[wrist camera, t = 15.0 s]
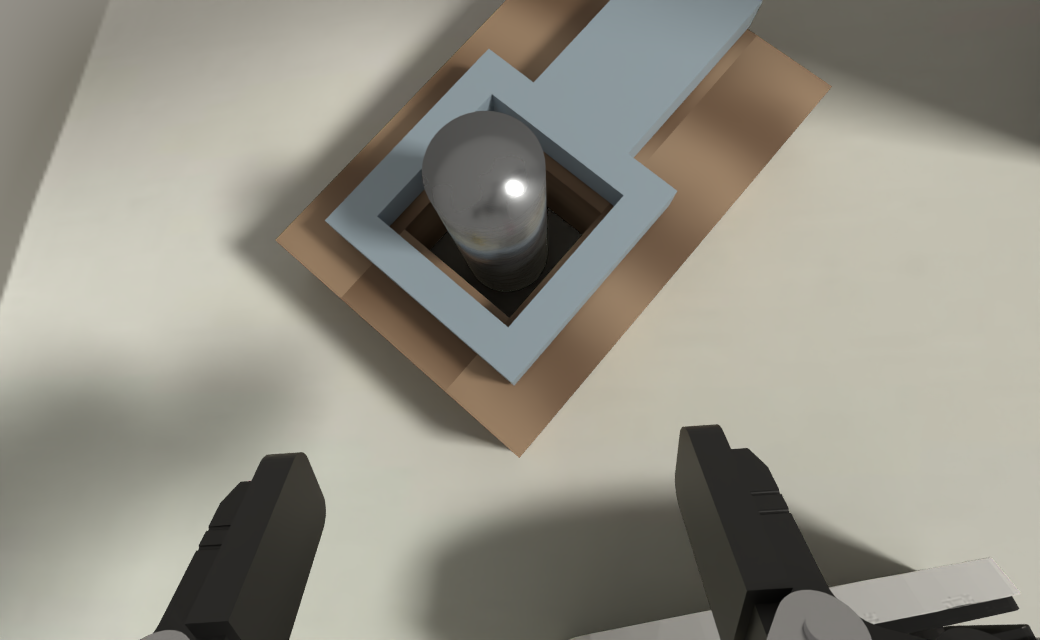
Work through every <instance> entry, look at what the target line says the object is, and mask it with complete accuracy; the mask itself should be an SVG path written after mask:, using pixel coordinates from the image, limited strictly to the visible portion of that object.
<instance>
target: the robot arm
mask: <svg viewBox="0 0 1040 640" xmlns="http://www.w3.org/2000/svg"><path fill="white" fill-rule="evenodd" d="M675 487H676V495H677V500H678V504H679V507H680V510H681V514H682V517H683V520H684V523H685V527H686V530H687V533H688V536H689V540H690V543H691V546H692V549H693V552H694V556H695V559H696V562H697V565H698V569H699V572H700V575H701V578H702V582H703V585H704V588H705V591H706V595H707V598H708V601H709V604H710V607H711V611H712V614H713V617H714V620H715V624H716V627H717V630H718V633H719V637H720V640H930V639H926V638H922V637H918V636H914V635H910V634H906V633H902V632H898V631H894V630H890V629H886V628H883V627H880V626H877V625H874V624H872V623H870V622H867V621H866V620H864V619H862V618H860V617H859V616H858V615H857V614H856V613H855V612H854V611H853V610H852V609H851V608H850V607H849V606H848V605H846V604H845V603H843V602H842V601H841V600H839V599H837V598H836V597H835V596H834V594H833V593H832V592H831V590H830V589H829V587H828V586H827V584H826V582H825V580H824V578H823V576H822V574H821V572H820V570H819V568H818V566H817V564H816V562H815V560H814V558H813V556H812V554H811V552H810V550H809V548H808V546H807V544H806V542H805V540H804V538H803V536H802V534H801V532H800V530H799V528H798V526H797V524H796V522H795V520H794V518H793V516H792V514H791V513H789V511H788V506H787V504H786V502H785V500H784V498H783V496H782V494H780V493H779V488H778V486H777V484H776V482H775V480H774V478H773V476H772V474H771V472H770V470H769V468H768V467H767V466H766V465H765V464H764V463H763V462H762V461H761V460H760V459H759V458H758V457H757V456H756V455H755V454H754V453H752V452H751V451H750V450H749V449H748V448H743V449H731V448H730V445H729V443H728V441H727V439H726V437H725V434H724V432H723V430H722V428H721V427H720V426H719V425H718V424H716V425H702V426H688V427H682V428H681V430H680V437H679V445H678V454H677V462H676V471H675ZM325 517H326V506H325V500H324V496H323V494H322V491H321V489H320V486H319V484H318V482H317V479H316V477H315V474H314V472H313V470H312V467H311V465H310V462H309V460H308V458H307V456H306V455H305V454H304V453H303V452H299V453H285V454H271V455H266V456H265V457H263V459H262V460H261V462H260V464H259V466H258V468H257V470H256V472H255V475H254V477H253V479H252V481H246V482H240V483H239V484H238V485H237V486H236V487H235V488H234V489H233V490H232V491H231V492H230V493H229V494H228V496H227V497H226V498H225V499H224V500H223V501H222V502H221V503H220V505H219V507H218V509H217V511H216V513H215V515H214V517H213V519H212V521H211V523H210V525H209V530H208V531H206V532H205V534H204V536H203V538H202V540H201V542H200V544H199V550H198V551H196V552H195V554H194V556H193V558H192V560H191V562H190V564H189V566H188V568H187V570H186V572H185V574H184V576H183V578H182V580H181V582H180V584H179V586H178V588H177V590H176V592H175V594H174V596H173V598H172V600H171V601H170V603H169V605H168V607H167V609H166V611H165V613H164V615H163V617H162V619H161V621H160V623H159V625H158V627H157V628H156V630H155V631H154V633H153V634H150V635H148V636H146V637H144V638H142V639H140V640H289V638H290V635H291V632H292V629H293V625H294V622H295V619H296V616H297V612H298V609H299V606H300V603H301V599H302V596H303V593H304V590H305V586H306V583H307V580H308V577H309V573H310V570H311V567H312V564H313V561H314V557H315V554H316V551H317V548H318V544H319V541H320V538H321V535H322V531H323V528H324V524H325ZM936 640H1001V639H999V638H997V637H995V636H993V635H991V634H989V633H986V632H983V631H980V630H977V629H972V628H964V627H959V628H952V629H949V630H946V631H944V632H943V633H941V634H940V635H939V637H938V638H937V639H936Z"/></svg>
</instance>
